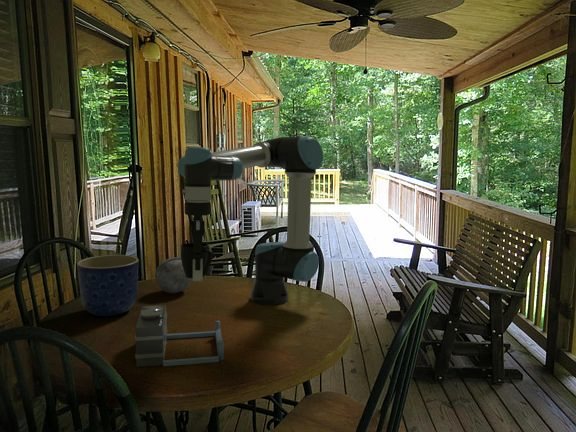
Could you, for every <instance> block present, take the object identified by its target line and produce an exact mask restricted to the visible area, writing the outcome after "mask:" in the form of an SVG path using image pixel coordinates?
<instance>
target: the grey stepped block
mask: <svg viewBox="0 0 576 432" xmlns="http://www.w3.org/2000/svg"><path fill="white" fill-rule="evenodd" d="M167 319H168V312H167V305H166V304H161V305H158V304H157V305H144V306H143V305H142V307H141V309H140V313H139V317H138V319H137V322H136V325H135V330H134V331H135V335H134V341H135V355H134V357H135V358H134V359H135V360H136V362H135V363H136V368H143V367H154V366H163V360H165V355H166V347H167V341H168V339H167V334H168V326H167Z"/></svg>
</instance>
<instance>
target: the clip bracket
mask: <svg viewBox="0 0 576 432" xmlns="http://www.w3.org/2000/svg"><path fill="white" fill-rule="evenodd" d="M214 323H215V324H214V326H215V327H214V328H215V330H212V331H197V332H196V331H195V332H183V333H182V332H181V333H167V340H174V339H175V340H177V339H188V338H202V337H203V338H207V337H215V343H216V351H217V356H216V355H215V356H204V357H203V356H202V357H192V358H179V359H176V358H175V359H167V360H165V359H164V360H163V365H162V366H163V367H171V366H183V365H184V366H185V365H194V364H195V365H196V364H197V365H198V364H207V363H208V364H209V363H210V364H211V363H219V362H220V361H223V360H225V341H224V340H223V336H222V331H221V321H220V320H215V322H214Z"/></svg>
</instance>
